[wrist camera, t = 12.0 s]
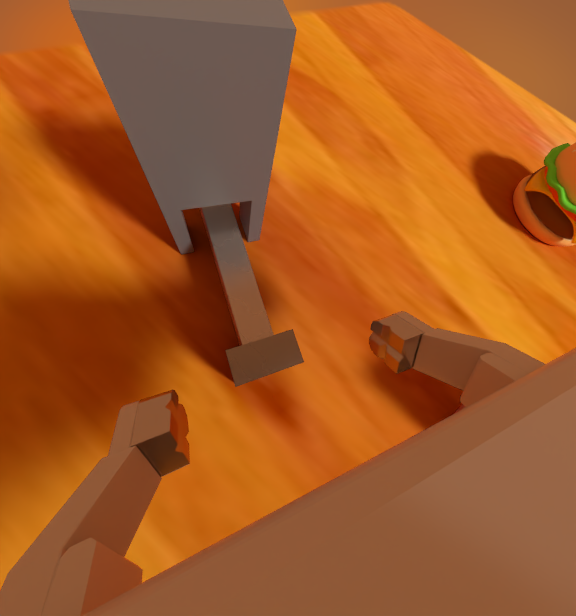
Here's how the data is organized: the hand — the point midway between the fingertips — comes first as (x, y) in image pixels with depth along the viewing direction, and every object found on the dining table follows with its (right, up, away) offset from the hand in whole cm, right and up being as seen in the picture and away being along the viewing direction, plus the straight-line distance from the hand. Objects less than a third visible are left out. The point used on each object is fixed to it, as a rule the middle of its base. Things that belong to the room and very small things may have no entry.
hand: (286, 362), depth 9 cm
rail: (-6, +8, +10) cm, 14 cm away
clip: (-6, +8, +10) cm, 14 cm away
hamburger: (+32, +14, +21) cm, 41 cm away
